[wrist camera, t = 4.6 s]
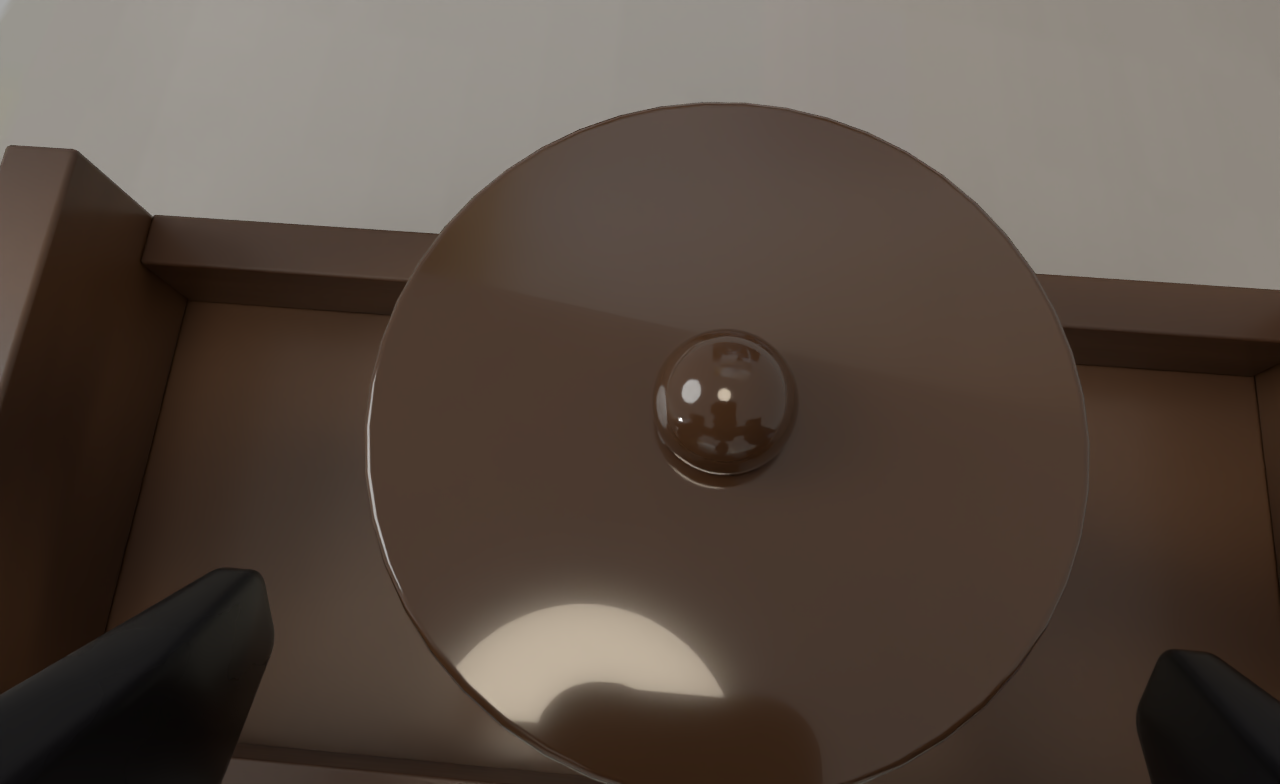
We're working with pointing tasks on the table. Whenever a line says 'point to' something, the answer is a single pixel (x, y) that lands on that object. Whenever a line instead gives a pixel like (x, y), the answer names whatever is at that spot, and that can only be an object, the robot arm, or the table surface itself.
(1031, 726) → the brown wooden tray
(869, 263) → the canister
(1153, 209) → the table surface
